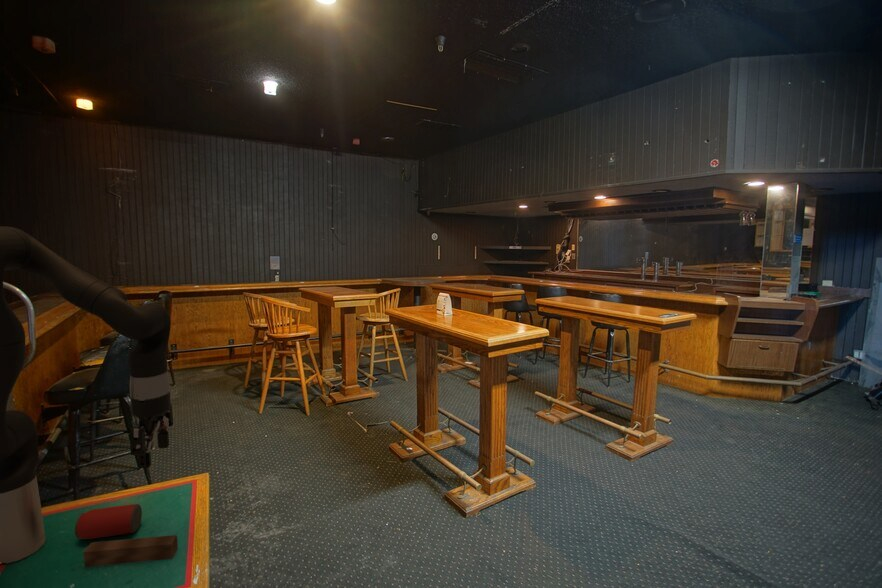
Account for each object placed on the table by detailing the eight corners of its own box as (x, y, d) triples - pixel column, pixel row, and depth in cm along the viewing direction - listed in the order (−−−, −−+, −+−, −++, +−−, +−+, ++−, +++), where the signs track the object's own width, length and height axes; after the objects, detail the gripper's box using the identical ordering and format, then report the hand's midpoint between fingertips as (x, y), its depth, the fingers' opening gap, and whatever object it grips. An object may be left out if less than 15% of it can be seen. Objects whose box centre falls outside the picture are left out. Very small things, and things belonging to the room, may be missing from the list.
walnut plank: (85, 568, 96) (83, 552, 96) (93, 557, 99) (91, 542, 99) (172, 559, 99) (171, 544, 99) (178, 550, 102) (176, 535, 102)
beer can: (129, 524, 103) (69, 532, 100) (136, 537, 107) (79, 545, 104) (138, 498, 108) (81, 505, 105) (144, 511, 112) (90, 518, 109)
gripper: (148, 380, 104) (152, 442, 107) (113, 404, 90) (119, 475, 93) (182, 379, 105) (185, 441, 108) (152, 404, 91) (157, 474, 94)
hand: (154, 457), depth 100 cm, fingers open, 8 cm apart
